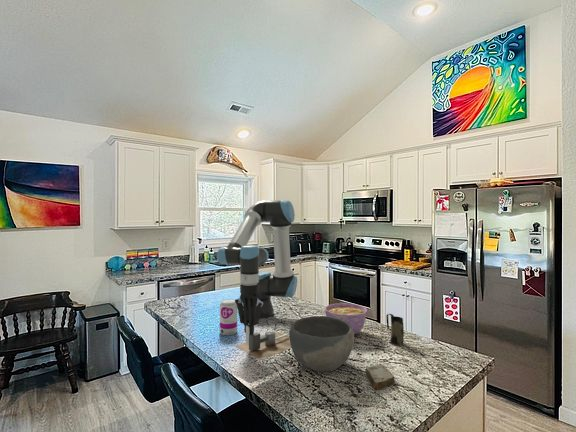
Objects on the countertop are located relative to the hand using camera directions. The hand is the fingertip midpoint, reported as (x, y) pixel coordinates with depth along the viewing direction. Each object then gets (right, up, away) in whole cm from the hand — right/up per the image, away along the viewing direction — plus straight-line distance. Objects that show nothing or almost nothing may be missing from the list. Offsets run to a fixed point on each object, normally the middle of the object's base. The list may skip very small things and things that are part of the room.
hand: (249, 341), depth 135 cm
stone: (+47, -5, -22) cm, 52 cm away
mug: (+63, -5, +10) cm, 64 cm away
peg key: (+8, -3, +5) cm, 10 cm away
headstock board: (+8, -5, +5) cm, 11 cm away
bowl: (+29, -5, -12) cm, 31 cm away
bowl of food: (+43, -5, +22) cm, 49 cm away
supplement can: (-12, -5, +23) cm, 26 cm away
